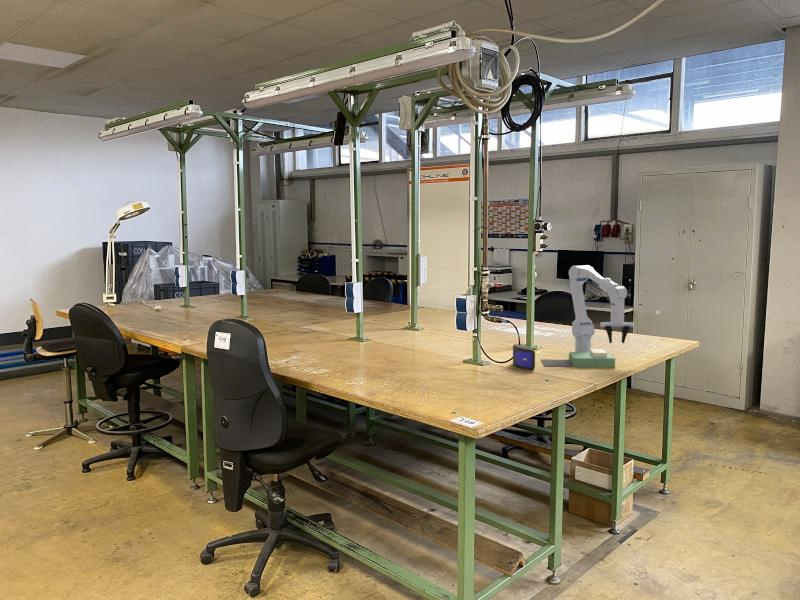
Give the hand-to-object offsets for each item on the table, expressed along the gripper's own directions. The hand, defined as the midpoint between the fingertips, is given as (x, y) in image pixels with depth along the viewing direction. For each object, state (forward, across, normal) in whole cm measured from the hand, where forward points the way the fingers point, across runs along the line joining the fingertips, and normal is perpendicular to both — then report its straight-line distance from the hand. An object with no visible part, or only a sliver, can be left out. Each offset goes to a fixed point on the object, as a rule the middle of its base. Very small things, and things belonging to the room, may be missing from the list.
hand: (616, 342), depth 279 cm
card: (+6, -8, 0) cm, 10 cm away
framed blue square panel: (+10, -42, -8) cm, 44 cm away
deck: (+10, -11, 0) cm, 15 cm away
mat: (+10, -26, 0) cm, 28 cm away
